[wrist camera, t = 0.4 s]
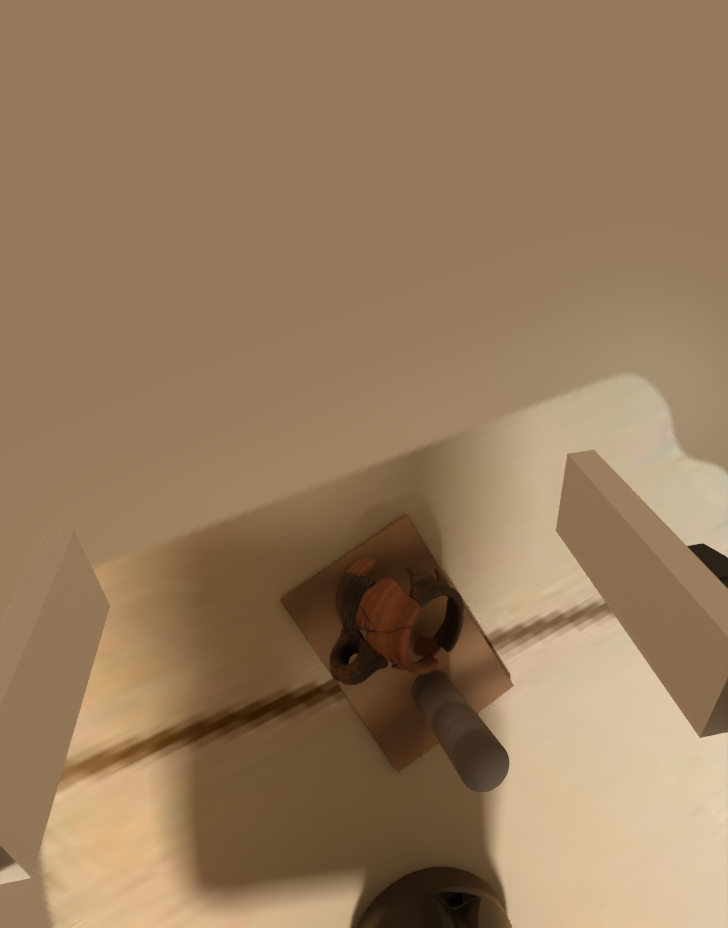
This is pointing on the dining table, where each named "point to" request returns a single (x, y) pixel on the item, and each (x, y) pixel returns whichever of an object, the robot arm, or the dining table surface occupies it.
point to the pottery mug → (389, 622)
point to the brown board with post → (403, 693)
